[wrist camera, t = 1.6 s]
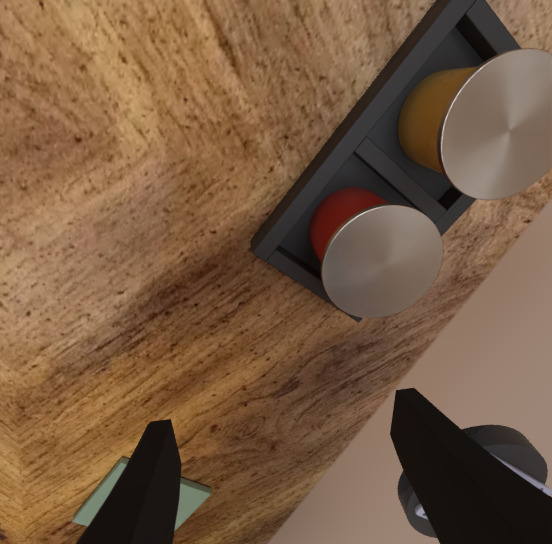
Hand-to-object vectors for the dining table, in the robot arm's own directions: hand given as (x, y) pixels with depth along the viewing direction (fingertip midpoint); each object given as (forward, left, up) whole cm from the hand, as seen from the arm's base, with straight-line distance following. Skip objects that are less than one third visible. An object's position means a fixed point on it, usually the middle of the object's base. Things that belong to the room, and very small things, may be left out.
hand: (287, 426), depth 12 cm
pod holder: (-2, -9, -9) cm, 13 cm away
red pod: (-2, -5, -9) cm, 11 cm away
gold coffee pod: (-2, -12, -9) cm, 15 cm away
